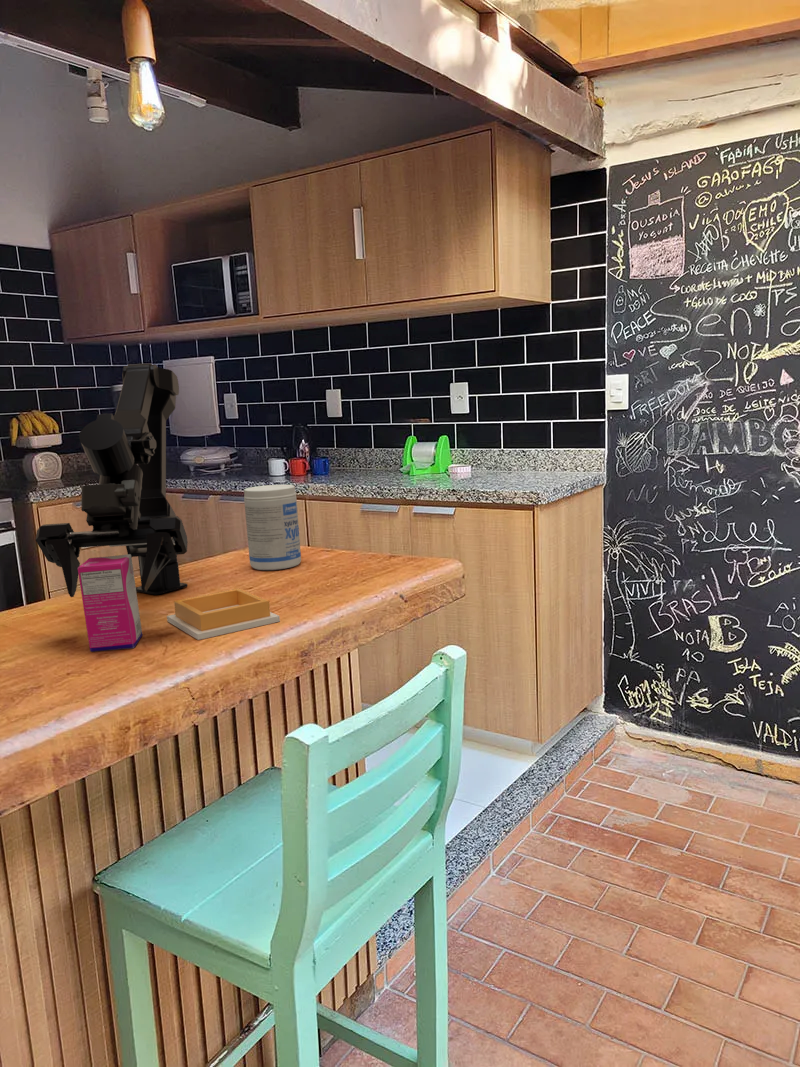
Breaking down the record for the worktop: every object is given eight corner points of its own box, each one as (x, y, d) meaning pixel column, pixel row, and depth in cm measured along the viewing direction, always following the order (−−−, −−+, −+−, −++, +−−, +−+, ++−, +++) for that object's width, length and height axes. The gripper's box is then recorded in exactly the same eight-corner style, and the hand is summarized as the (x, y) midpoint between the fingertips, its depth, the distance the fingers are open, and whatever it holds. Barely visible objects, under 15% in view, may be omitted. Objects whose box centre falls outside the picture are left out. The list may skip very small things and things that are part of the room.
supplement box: (98, 639, 110) (88, 556, 108) (143, 635, 111) (134, 553, 109) (87, 652, 105) (76, 565, 103) (134, 648, 105) (124, 562, 103)
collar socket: (167, 621, 117) (165, 601, 117) (244, 605, 124) (242, 586, 123) (198, 640, 107) (195, 618, 107) (279, 621, 114) (278, 600, 114)
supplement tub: (300, 569, 147) (294, 488, 144) (247, 573, 146) (240, 492, 143) (302, 558, 156) (296, 482, 153) (252, 561, 155) (246, 485, 153)
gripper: (30, 464, 107) (10, 564, 98) (175, 456, 108) (167, 553, 99) (57, 514, 116) (41, 610, 107) (190, 506, 117) (185, 599, 108)
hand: (107, 592), depth 105 cm, fingers open, 9 cm apart
